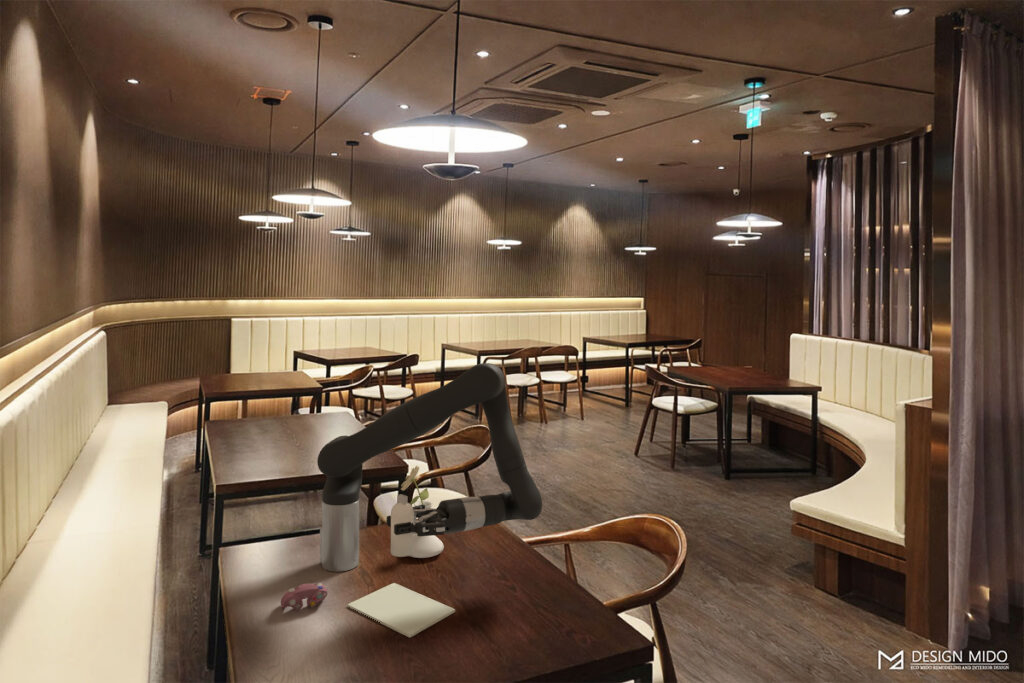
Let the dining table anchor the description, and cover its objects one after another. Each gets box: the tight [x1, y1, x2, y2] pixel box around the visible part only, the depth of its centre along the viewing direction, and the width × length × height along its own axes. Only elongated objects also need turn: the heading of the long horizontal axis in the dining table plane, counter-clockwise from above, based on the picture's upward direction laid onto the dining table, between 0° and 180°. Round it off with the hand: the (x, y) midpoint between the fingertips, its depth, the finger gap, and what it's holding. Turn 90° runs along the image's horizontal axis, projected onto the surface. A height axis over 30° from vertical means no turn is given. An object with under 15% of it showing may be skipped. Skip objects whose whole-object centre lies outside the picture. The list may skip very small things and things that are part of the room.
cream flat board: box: [347, 582, 456, 639], centre depth 147 cm, size 20×14×1 cm
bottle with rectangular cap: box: [390, 493, 414, 558], centre depth 146 cm, size 5×5×13 cm
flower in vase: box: [400, 465, 445, 559], centre depth 176 cm, size 13×11×25 cm
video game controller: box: [280, 582, 328, 611], centre depth 147 cm, size 10×5×7 cm, turn 119°
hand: (390, 525), depth 144 cm, fingers closed on bottle with rectangular cap, 5 cm apart
